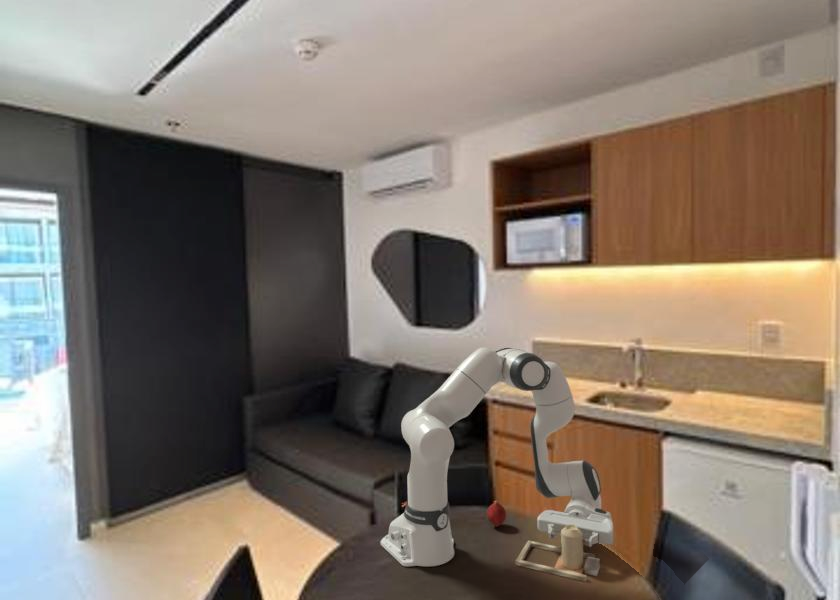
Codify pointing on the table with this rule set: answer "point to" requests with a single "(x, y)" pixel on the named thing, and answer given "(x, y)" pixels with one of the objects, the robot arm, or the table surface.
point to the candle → (572, 547)
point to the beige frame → (560, 563)
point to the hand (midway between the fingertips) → (569, 539)
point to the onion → (496, 514)
